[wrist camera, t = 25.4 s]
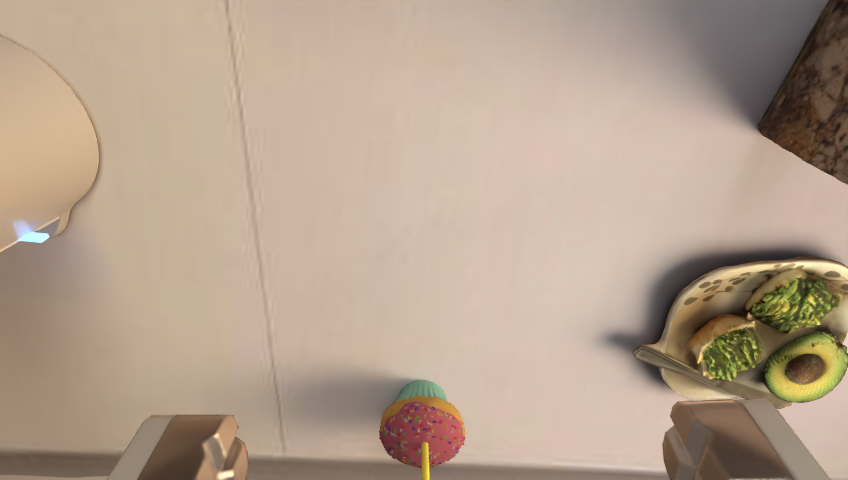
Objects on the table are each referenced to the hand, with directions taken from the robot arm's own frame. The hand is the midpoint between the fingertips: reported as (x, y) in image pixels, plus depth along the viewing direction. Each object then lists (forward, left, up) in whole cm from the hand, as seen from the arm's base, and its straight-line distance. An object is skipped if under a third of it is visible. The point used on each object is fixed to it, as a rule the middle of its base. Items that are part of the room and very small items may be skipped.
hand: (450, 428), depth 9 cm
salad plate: (+29, -25, -31) cm, 49 cm away
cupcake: (-3, -33, -31) cm, 46 cm away
